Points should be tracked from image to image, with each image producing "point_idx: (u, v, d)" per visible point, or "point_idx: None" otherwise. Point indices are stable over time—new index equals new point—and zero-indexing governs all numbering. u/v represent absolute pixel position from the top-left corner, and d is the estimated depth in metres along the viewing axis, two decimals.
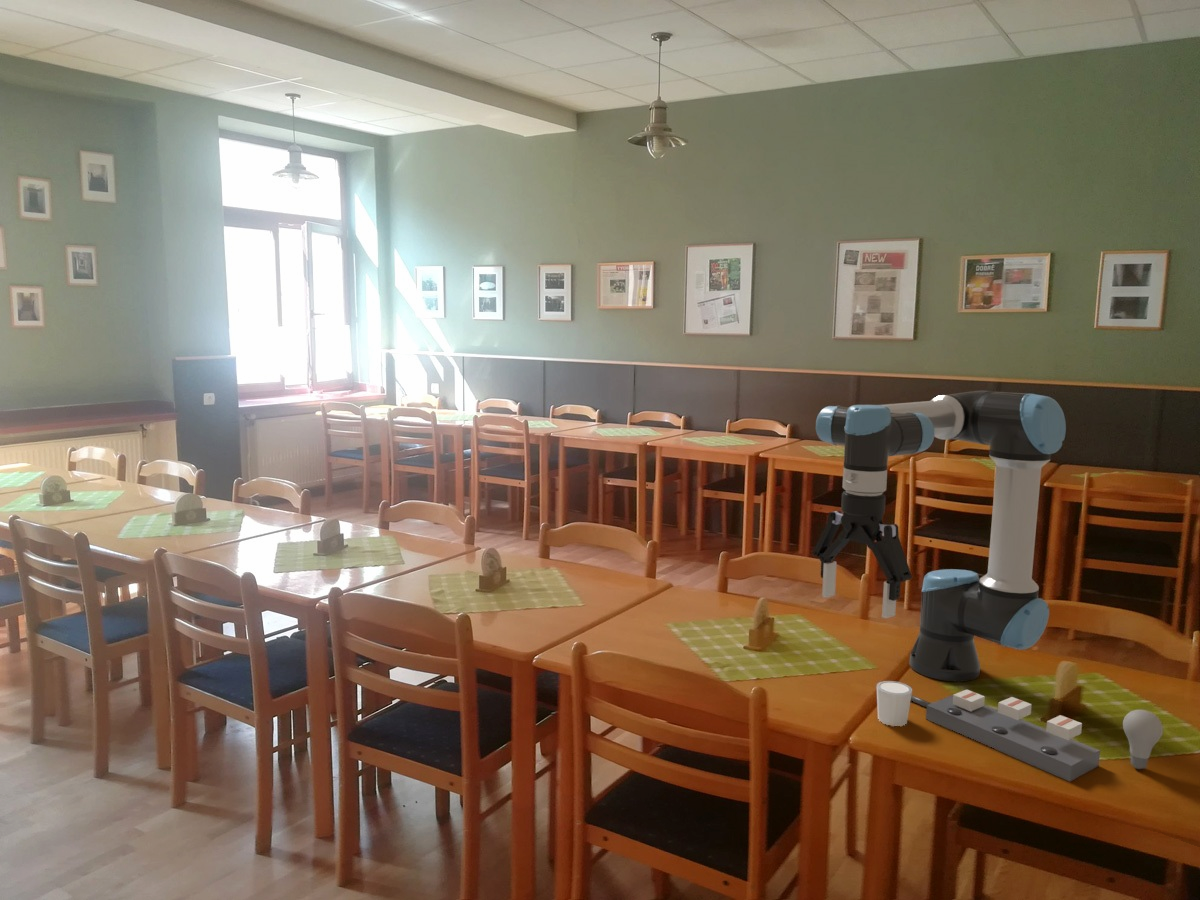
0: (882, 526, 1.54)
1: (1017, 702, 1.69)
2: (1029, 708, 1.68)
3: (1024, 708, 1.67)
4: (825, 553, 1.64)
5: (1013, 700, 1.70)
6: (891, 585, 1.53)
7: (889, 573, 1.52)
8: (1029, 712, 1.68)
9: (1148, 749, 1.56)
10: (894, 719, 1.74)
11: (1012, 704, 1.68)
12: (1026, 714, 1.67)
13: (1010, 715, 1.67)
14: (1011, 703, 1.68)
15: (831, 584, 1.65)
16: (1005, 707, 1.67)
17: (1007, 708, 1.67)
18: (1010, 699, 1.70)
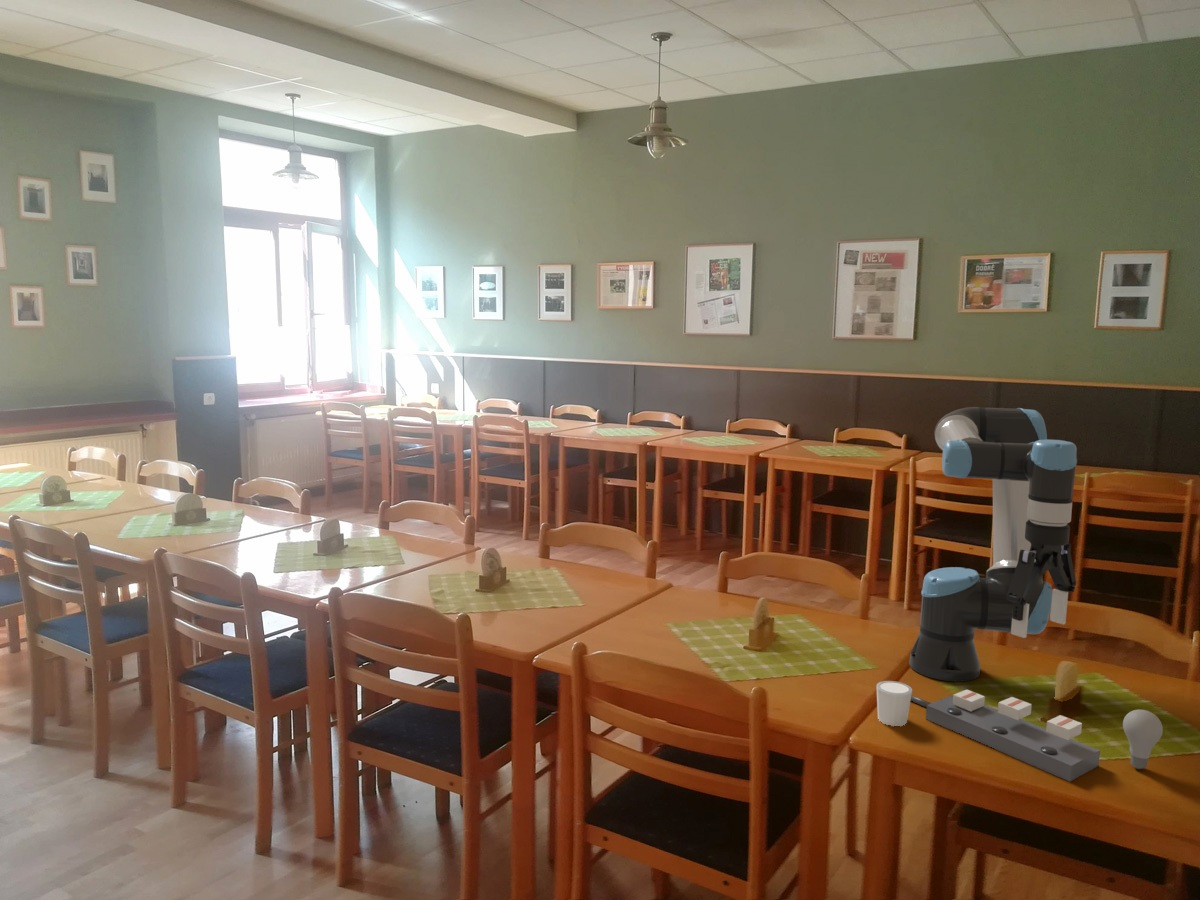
0: (1029, 552, 1.66)
1: (1017, 702, 1.69)
2: (1029, 708, 1.68)
3: (1024, 708, 1.67)
4: None
5: (1013, 700, 1.70)
6: None
7: None
8: (1029, 712, 1.68)
9: (1148, 749, 1.56)
10: (894, 719, 1.74)
11: (1012, 704, 1.68)
12: (1026, 714, 1.67)
13: (1010, 715, 1.67)
14: (1011, 703, 1.68)
15: (1058, 611, 1.73)
16: (1005, 707, 1.67)
17: (1007, 708, 1.67)
18: (1010, 699, 1.70)
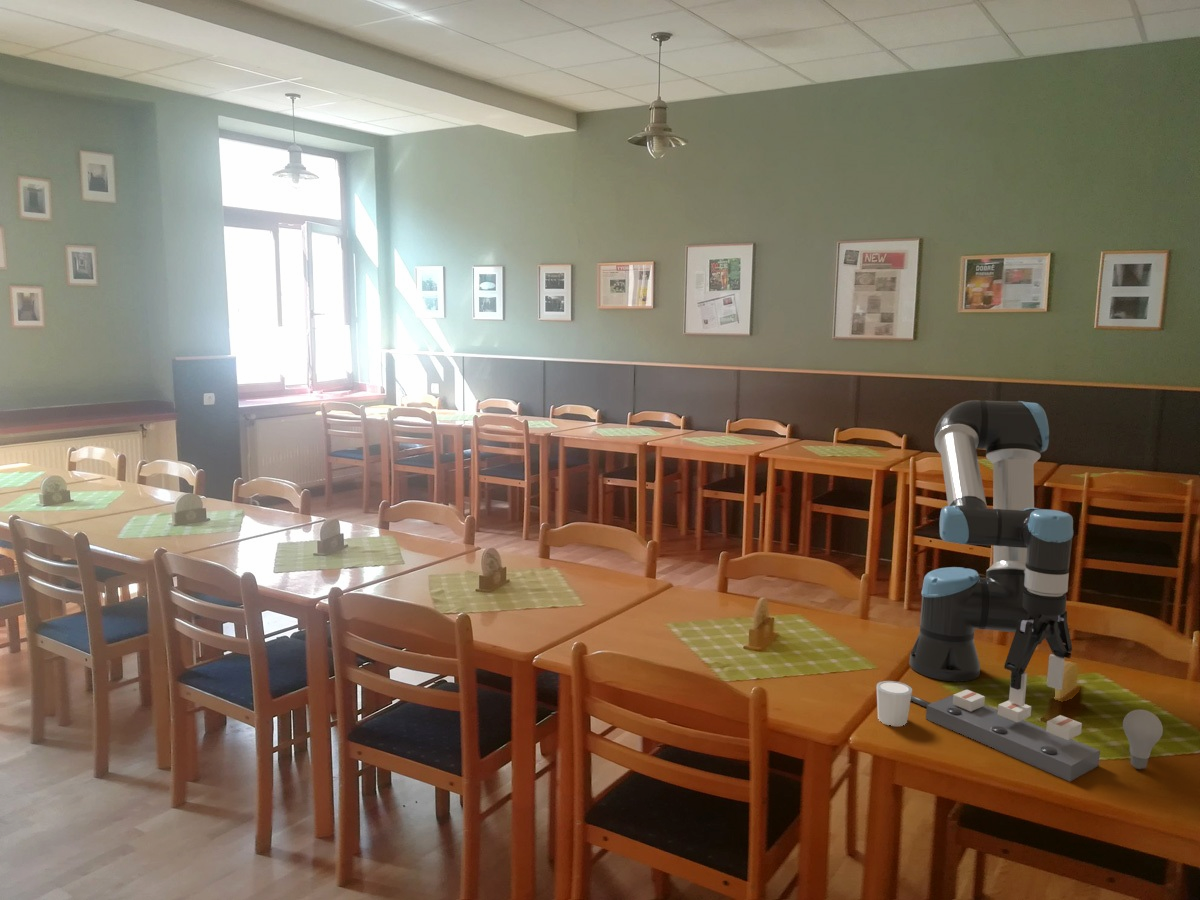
0: (1027, 621, 1.68)
1: None
2: (1029, 710, 1.68)
3: (1024, 710, 1.67)
4: None
5: None
6: None
7: None
8: (1029, 714, 1.68)
9: (1148, 749, 1.56)
10: (894, 718, 1.74)
11: (1012, 706, 1.68)
12: (1026, 716, 1.67)
13: (1010, 717, 1.67)
14: (1011, 705, 1.68)
15: (1055, 677, 1.75)
16: (1005, 709, 1.68)
17: (1007, 710, 1.67)
18: None
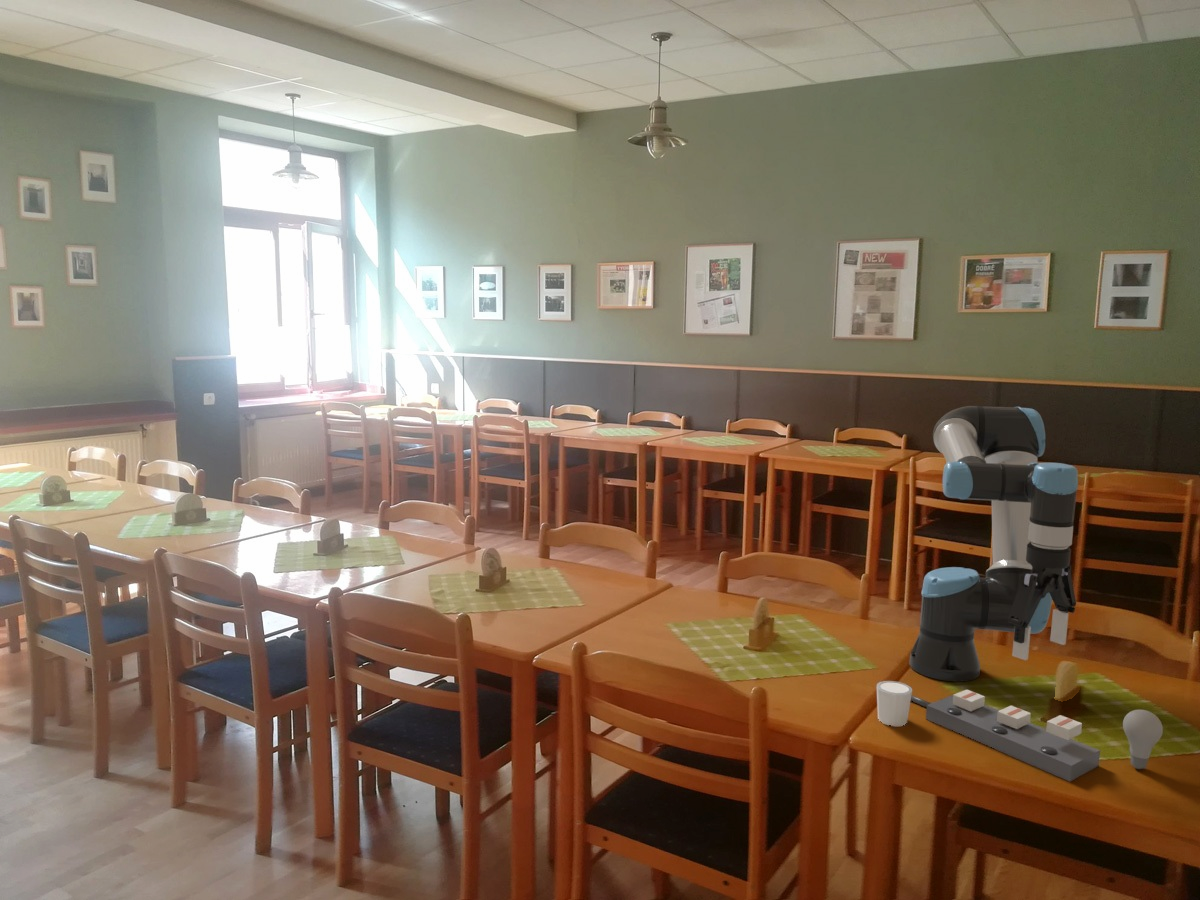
0: (1030, 574, 1.66)
1: (1016, 711, 1.69)
2: (1028, 717, 1.68)
3: (1023, 717, 1.67)
4: None
5: (1012, 709, 1.70)
6: None
7: None
8: (1028, 721, 1.68)
9: (1148, 749, 1.56)
10: (894, 719, 1.74)
11: (1011, 713, 1.68)
12: (1025, 723, 1.68)
13: (1009, 724, 1.67)
14: (1010, 712, 1.68)
15: (1059, 632, 1.74)
16: (1004, 716, 1.68)
17: (1007, 717, 1.67)
18: (1009, 708, 1.70)
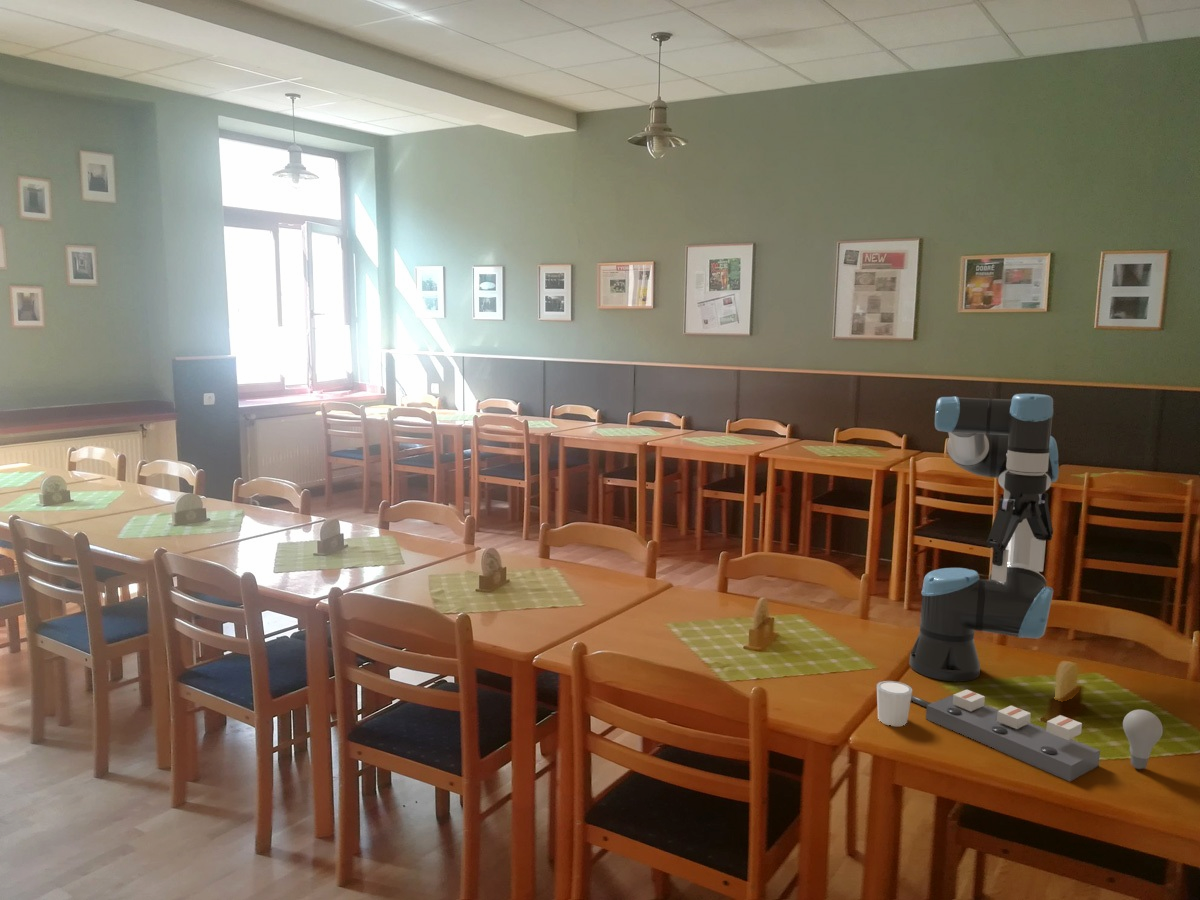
0: None
1: (1016, 711, 1.69)
2: (1028, 717, 1.68)
3: (1023, 717, 1.67)
4: None
5: (1012, 709, 1.70)
6: None
7: (994, 539, 1.74)
8: (1028, 721, 1.68)
9: (1148, 749, 1.56)
10: (894, 718, 1.74)
11: (1011, 713, 1.68)
12: (1025, 723, 1.68)
13: (1009, 724, 1.67)
14: (1010, 712, 1.68)
15: (1036, 559, 1.81)
16: (1004, 716, 1.68)
17: (1007, 717, 1.67)
18: (1009, 708, 1.70)
